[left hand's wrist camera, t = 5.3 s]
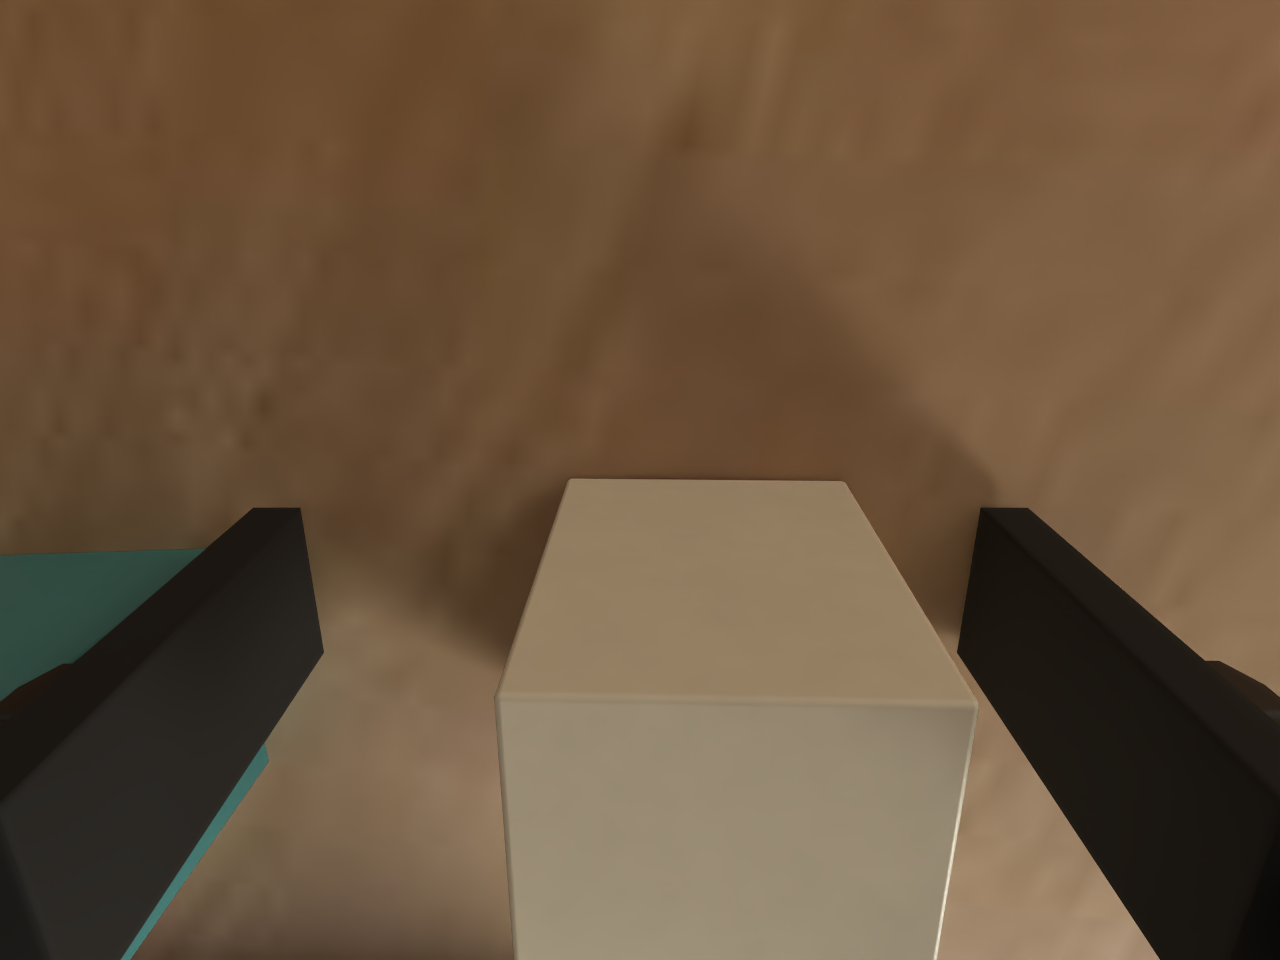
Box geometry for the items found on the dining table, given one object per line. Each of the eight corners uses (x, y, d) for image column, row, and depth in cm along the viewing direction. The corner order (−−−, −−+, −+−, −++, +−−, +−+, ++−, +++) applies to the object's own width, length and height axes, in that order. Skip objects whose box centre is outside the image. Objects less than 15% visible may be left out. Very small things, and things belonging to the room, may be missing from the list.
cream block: (567, 476, 13) (492, 695, 7) (845, 479, 13) (983, 704, 7) (575, 709, 15) (517, 1036, 9) (824, 714, 14) (924, 1049, 9)
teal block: (-26, 551, 14) (-485, 789, 9) (221, 543, 14) (-80, 782, 8) (49, 760, 16) (-297, 1079, 10) (274, 756, 16) (48, 1081, 10)
